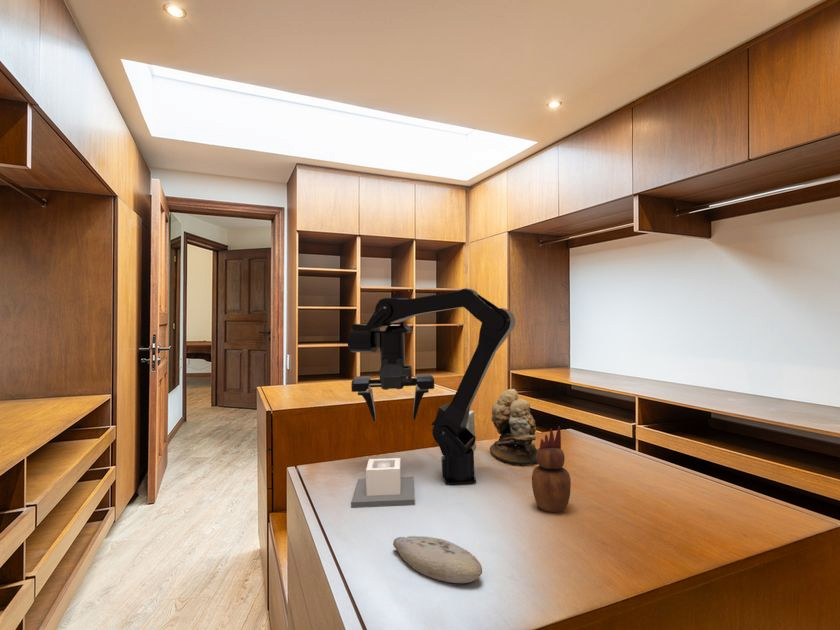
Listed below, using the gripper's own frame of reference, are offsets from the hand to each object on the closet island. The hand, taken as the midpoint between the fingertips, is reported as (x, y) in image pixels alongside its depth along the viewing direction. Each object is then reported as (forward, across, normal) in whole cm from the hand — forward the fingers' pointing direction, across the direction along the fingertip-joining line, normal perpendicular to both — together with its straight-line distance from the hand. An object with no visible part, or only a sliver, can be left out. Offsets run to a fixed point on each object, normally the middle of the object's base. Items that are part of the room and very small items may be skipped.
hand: (394, 420), depth 101 cm
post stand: (+12, -2, -12) cm, 17 cm away
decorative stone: (+12, +7, -39) cm, 41 cm away
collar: (+11, -2, -12) cm, 16 cm away
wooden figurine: (+12, +29, -22) cm, 38 cm away
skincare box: (+12, +18, +14) cm, 26 cm away
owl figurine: (+12, +30, +8) cm, 33 cm away
